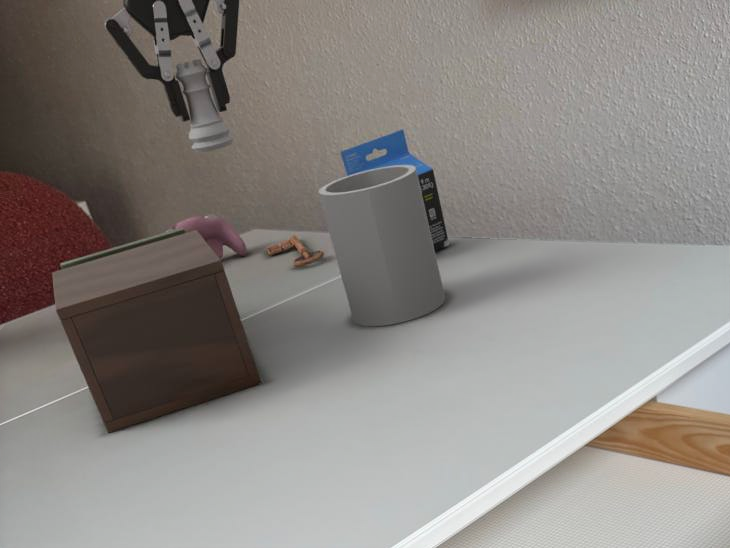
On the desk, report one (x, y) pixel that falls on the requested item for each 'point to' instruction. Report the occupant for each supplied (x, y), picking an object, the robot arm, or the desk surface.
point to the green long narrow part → (122, 248)
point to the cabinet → (154, 329)
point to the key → (306, 257)
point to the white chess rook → (202, 109)
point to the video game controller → (214, 233)
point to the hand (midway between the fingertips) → (203, 114)
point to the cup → (383, 245)
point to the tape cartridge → (401, 156)
